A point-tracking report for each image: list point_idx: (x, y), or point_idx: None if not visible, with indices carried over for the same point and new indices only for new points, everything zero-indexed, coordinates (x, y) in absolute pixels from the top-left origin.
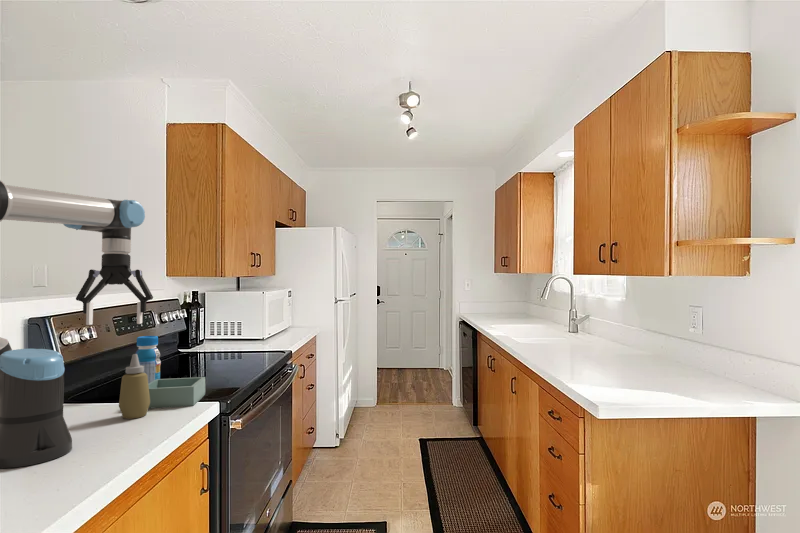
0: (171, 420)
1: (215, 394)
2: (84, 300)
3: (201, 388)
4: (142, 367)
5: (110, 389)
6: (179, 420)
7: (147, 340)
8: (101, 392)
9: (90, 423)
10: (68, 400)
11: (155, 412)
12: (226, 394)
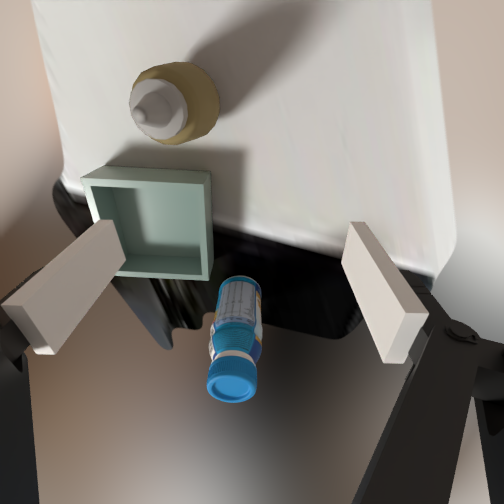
0: (86, 29)
1: None
2: (462, 332)
3: None
4: (129, 101)
5: (313, 331)
6: (65, 22)
7: (224, 368)
8: (322, 316)
9: (269, 62)
10: None
11: None
12: None
